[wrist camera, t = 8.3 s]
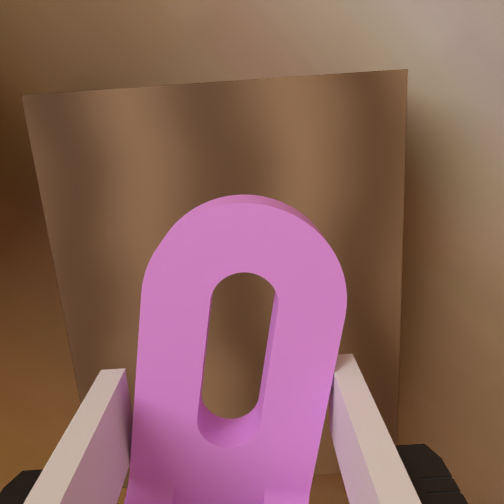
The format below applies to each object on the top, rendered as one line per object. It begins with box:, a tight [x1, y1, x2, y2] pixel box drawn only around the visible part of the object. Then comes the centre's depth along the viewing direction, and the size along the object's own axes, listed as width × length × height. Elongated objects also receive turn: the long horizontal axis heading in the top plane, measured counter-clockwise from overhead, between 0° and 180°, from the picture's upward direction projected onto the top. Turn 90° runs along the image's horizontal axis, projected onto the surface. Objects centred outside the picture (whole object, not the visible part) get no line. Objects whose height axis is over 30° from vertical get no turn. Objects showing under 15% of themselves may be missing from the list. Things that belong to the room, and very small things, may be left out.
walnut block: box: [21, 69, 408, 488], centre depth 24 cm, size 16×20×5 cm
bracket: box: [124, 194, 347, 504], centre depth 11 cm, size 13×6×7 cm, turn 173°
